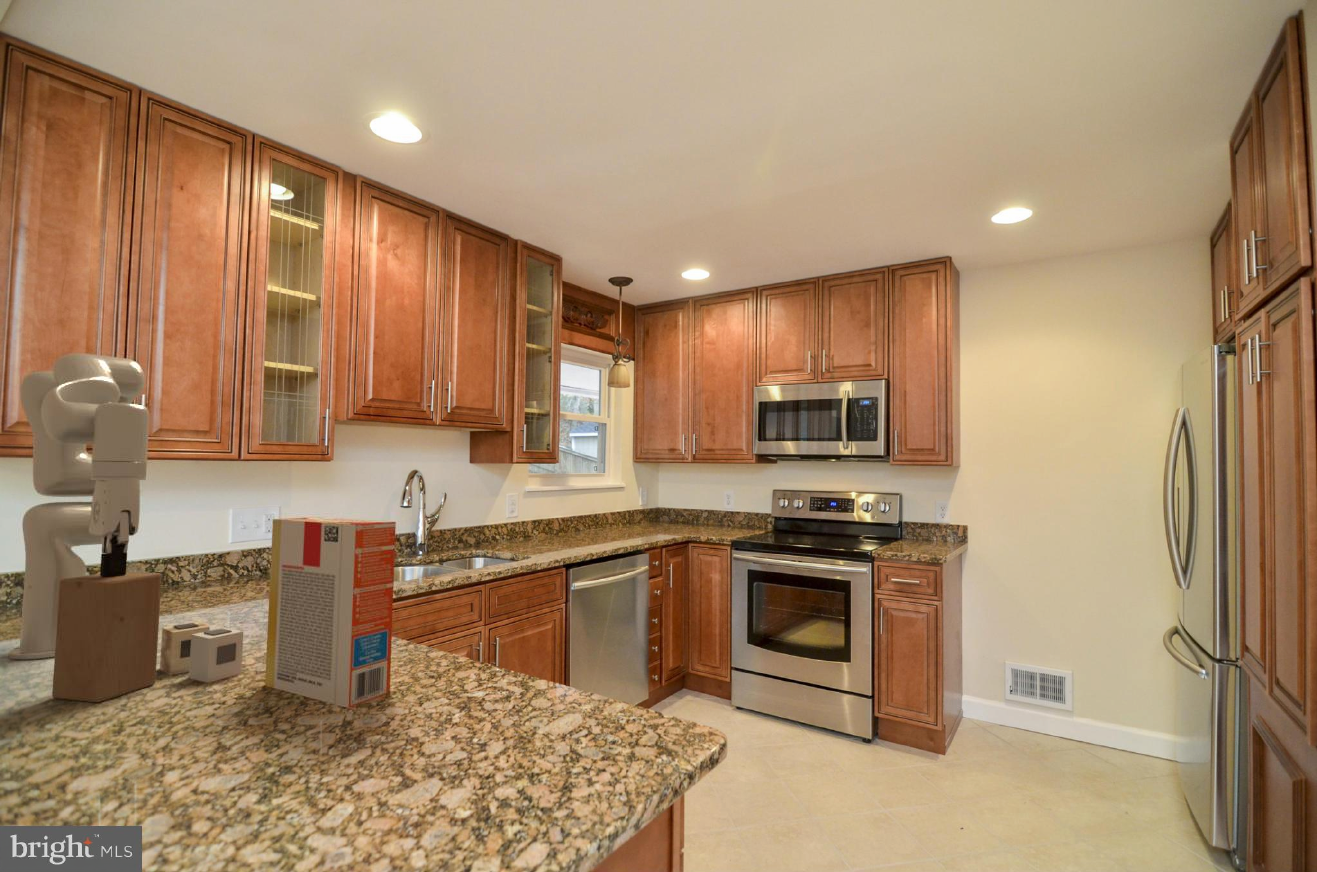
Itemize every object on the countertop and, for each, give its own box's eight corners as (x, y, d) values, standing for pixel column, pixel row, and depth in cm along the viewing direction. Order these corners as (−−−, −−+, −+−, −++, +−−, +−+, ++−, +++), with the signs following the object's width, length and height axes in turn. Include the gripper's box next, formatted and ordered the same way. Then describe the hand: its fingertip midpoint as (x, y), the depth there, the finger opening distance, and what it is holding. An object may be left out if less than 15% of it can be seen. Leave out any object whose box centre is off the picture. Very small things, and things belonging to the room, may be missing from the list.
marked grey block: (188, 677, 118) (191, 632, 119) (222, 669, 124) (225, 626, 124) (208, 683, 115) (210, 637, 116) (242, 674, 121) (244, 630, 121)
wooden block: (97, 703, 104) (105, 581, 106) (50, 698, 106) (58, 579, 108) (156, 684, 114) (163, 572, 116) (112, 680, 116) (119, 570, 118)
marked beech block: (159, 669, 123) (162, 626, 124) (196, 662, 128) (198, 620, 129) (171, 675, 119) (173, 631, 120) (207, 667, 124) (210, 625, 125)
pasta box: (389, 693, 111) (395, 521, 113) (348, 707, 104) (355, 524, 106) (307, 673, 121) (314, 516, 123) (265, 685, 114) (272, 519, 116)
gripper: (80, 472, 114) (73, 574, 113) (104, 471, 105) (97, 583, 104) (132, 472, 120) (126, 569, 119) (159, 472, 111) (153, 577, 110)
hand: (113, 575), depth 112 cm, fingers closed
